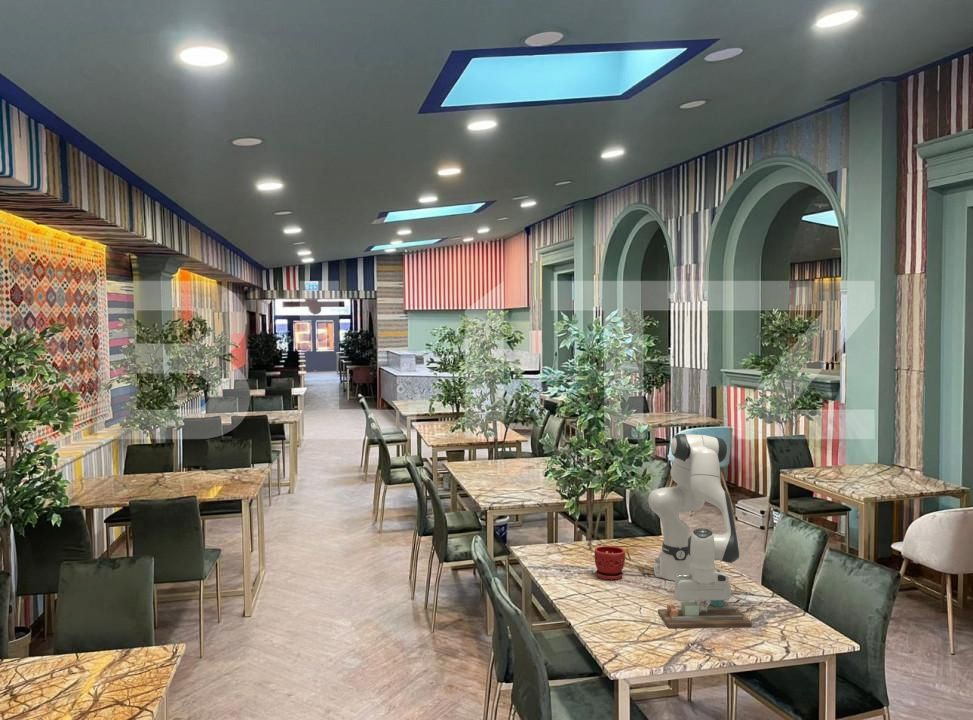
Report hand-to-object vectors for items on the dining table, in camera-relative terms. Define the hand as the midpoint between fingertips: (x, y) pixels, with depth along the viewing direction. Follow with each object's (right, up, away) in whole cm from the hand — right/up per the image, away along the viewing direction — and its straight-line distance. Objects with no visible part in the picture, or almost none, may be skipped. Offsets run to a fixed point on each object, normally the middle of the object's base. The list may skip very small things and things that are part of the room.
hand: (702, 611), depth 262 cm
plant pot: (-26, -2, +48) cm, 55 cm away
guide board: (0, -3, 0) cm, 3 cm away
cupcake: (+10, -3, +15) cm, 19 cm away
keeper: (-5, -2, 0) cm, 5 cm away
